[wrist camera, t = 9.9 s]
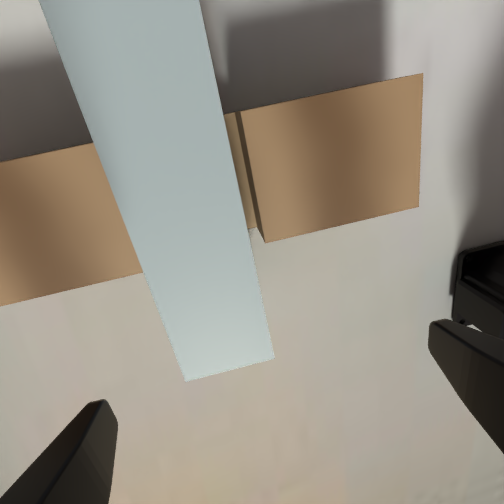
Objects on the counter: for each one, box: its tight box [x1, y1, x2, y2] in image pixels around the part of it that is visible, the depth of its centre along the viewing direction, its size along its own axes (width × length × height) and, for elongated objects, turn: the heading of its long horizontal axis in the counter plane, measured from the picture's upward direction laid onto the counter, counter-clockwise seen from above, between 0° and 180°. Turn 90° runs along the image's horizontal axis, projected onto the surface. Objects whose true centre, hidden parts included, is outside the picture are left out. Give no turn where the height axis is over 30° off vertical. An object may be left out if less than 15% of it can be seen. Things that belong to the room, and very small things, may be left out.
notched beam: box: [0, 73, 423, 306], centre depth 16 cm, size 22×6×4 cm, turn 101°
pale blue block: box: [39, 0, 275, 382], centre depth 14 cm, size 14×4×6 cm, turn 11°
